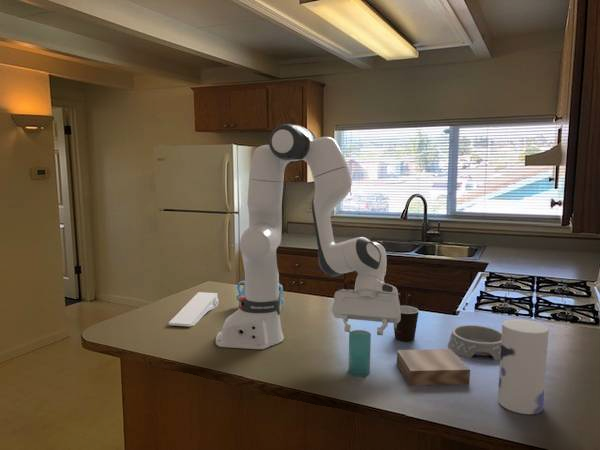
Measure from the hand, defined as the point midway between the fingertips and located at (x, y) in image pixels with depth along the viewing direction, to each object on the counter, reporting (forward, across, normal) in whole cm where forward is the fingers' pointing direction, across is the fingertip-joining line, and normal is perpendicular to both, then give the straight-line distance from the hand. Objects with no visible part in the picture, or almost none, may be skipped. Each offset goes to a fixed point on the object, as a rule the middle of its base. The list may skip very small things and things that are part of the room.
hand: (363, 332), depth 136 cm
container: (+15, +40, 0) cm, 43 cm away
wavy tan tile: (+7, +19, +7) cm, 22 cm away
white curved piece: (-11, -69, +25) cm, 75 cm away
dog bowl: (-9, +33, +24) cm, 42 cm away
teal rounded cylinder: (+10, 0, +4) cm, 11 cm away
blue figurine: (-22, -48, +36) cm, 64 cm away
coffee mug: (-12, +10, +26) cm, 30 cm away
